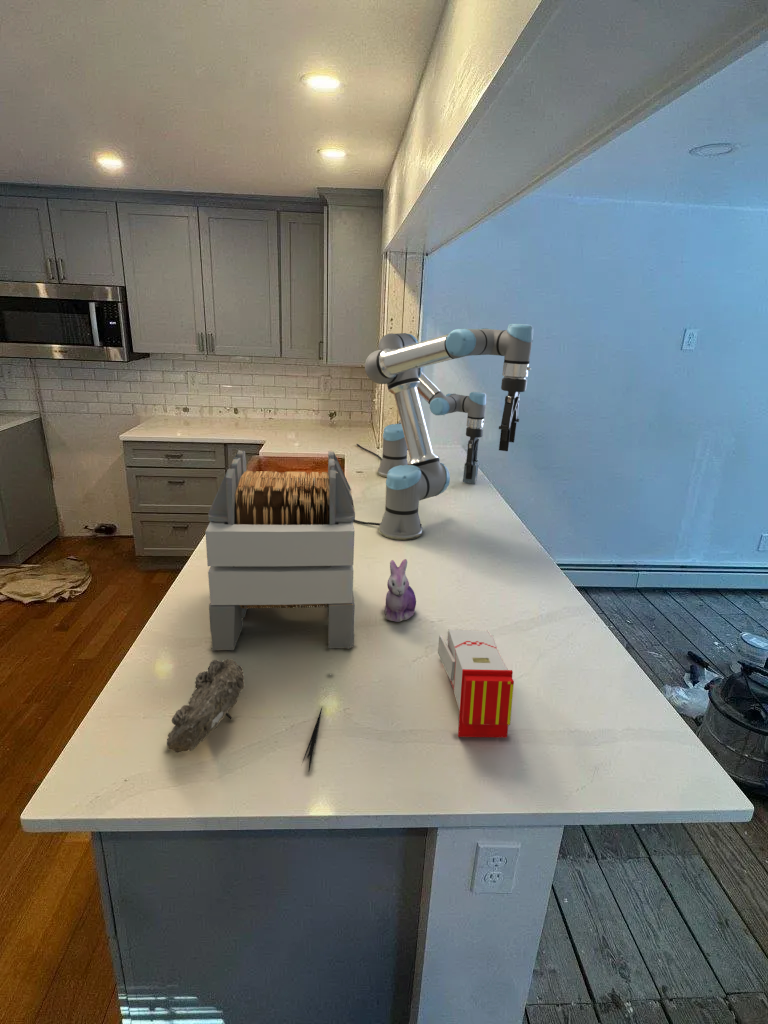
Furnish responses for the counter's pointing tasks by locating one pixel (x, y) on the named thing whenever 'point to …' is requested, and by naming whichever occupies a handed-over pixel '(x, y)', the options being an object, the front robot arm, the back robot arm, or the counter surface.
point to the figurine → (399, 594)
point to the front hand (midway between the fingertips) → (506, 446)
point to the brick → (474, 473)
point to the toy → (478, 682)
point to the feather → (313, 740)
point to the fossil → (206, 705)
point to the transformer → (281, 548)
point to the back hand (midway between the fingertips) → (469, 477)
